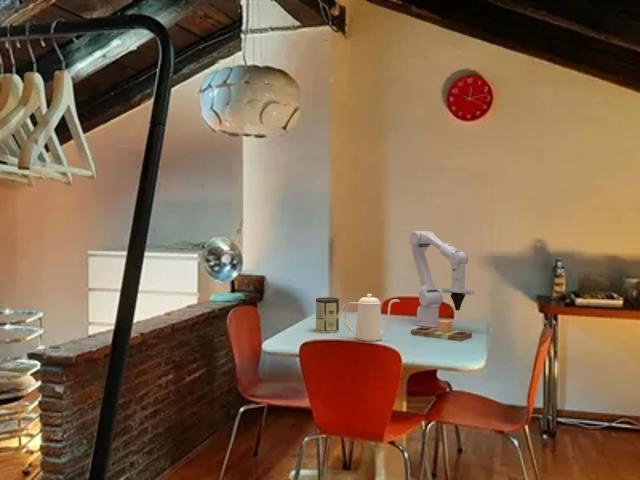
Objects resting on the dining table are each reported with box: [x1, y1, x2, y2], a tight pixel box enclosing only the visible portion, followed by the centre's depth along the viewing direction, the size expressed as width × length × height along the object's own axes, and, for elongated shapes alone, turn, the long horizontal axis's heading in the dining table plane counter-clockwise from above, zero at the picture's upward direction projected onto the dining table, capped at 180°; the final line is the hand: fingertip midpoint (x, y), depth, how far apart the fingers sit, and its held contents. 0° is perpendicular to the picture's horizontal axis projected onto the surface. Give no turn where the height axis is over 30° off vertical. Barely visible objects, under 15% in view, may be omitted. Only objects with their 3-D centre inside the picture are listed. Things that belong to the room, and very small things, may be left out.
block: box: [437, 319, 453, 333], centre depth 298 cm, size 4×4×4 cm
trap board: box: [410, 326, 473, 342], centre depth 299 cm, size 23×11×2 cm, turn 55°
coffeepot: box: [340, 293, 400, 342], centre depth 290 cm, size 11×25×19 cm, turn 71°
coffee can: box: [315, 296, 340, 334], centre depth 308 cm, size 10×10×14 cm
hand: (457, 310), depth 309 cm, fingers closed
